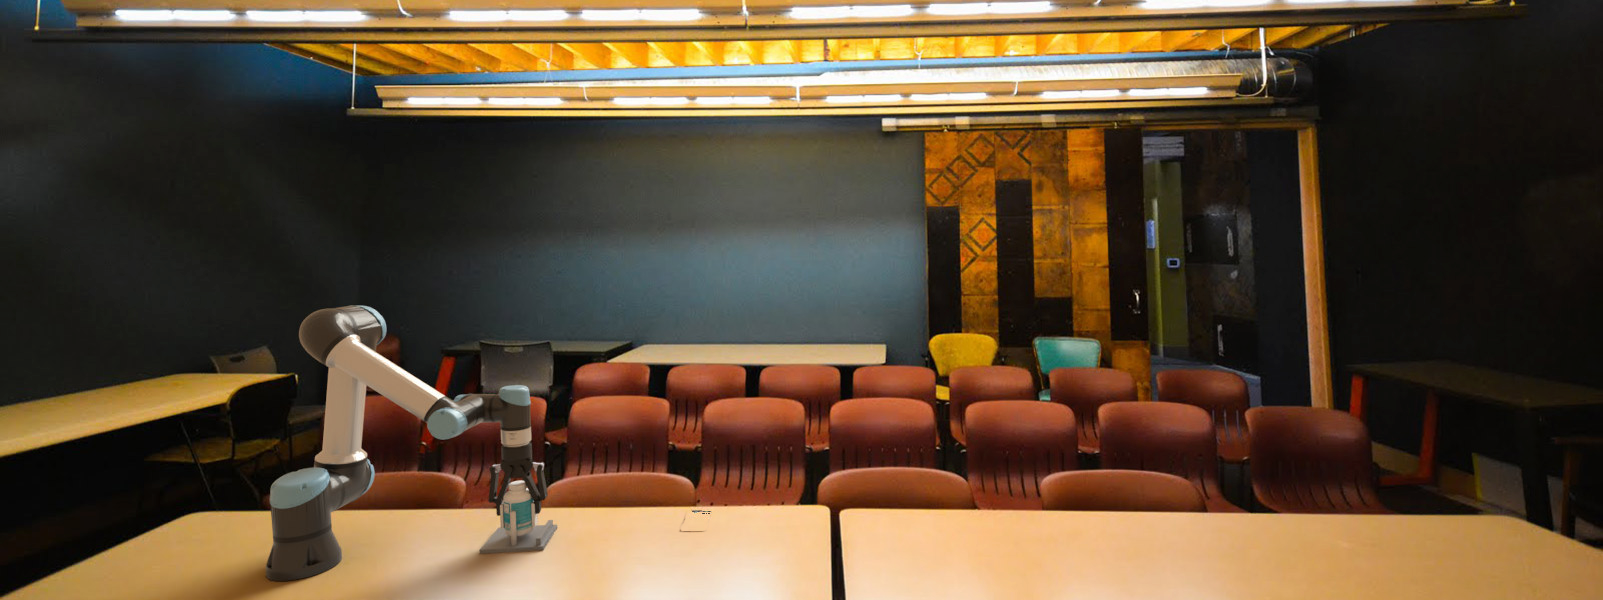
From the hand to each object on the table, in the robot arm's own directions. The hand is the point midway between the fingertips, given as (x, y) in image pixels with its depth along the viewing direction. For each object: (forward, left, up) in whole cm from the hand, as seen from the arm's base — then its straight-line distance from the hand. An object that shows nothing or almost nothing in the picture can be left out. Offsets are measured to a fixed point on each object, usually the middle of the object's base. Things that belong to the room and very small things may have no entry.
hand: (519, 525), depth 176 cm
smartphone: (+47, +7, -5) cm, 48 cm away
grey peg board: (0, 0, -4) cm, 4 cm away
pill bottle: (0, 0, -2) cm, 2 cm away
